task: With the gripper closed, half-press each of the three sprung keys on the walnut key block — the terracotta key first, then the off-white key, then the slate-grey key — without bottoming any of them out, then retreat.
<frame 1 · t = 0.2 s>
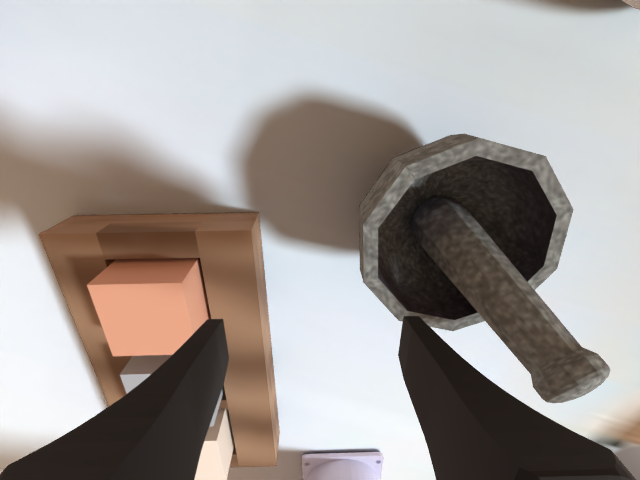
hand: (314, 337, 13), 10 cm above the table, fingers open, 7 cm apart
mortar and pestle: (423, 208, 22), on the table
slate key: (179, 380, 23), point 4 cm above the table, slide at 0.0 cm
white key: (195, 440, 25), point 4 cm above the table, slide at 0.0 cm
terracotta key: (158, 303, 20), point 4 cm above the table, slide at 0.0 cm
key block: (195, 343, 26), on the table
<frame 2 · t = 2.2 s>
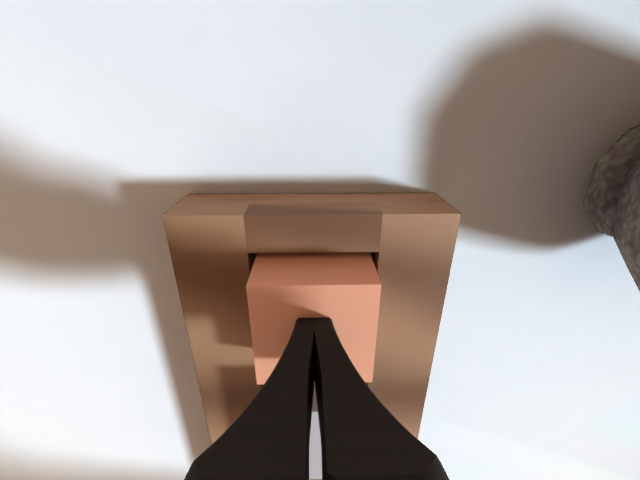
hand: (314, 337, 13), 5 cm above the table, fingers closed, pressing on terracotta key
slate key: (314, 414, 17), point 4 cm above the table, slide at 0.0 cm
terracotta key: (314, 311, 15), point 3 cm above the table, slide at 0.2 cm, touching gripper
key block: (314, 363, 20), on the table
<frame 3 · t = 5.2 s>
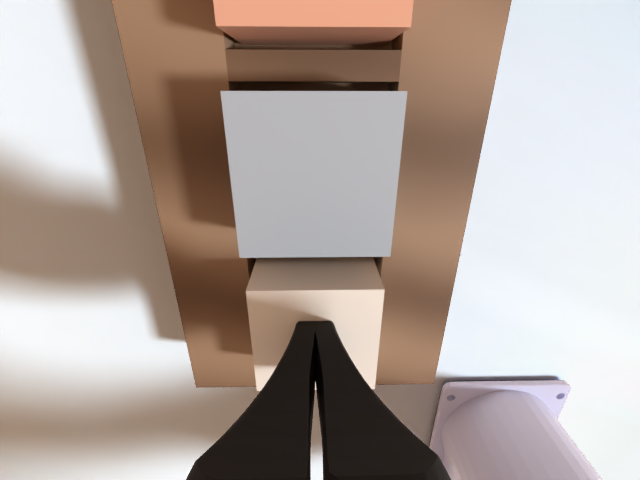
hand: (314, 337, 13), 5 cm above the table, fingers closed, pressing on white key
slate key: (314, 170, 11), point 4 cm above the table, slide at 0.0 cm
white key: (315, 316, 14), point 3 cm above the table, slide at 0.3 cm, touching gripper, key block
key block: (314, 153, 14), on the table
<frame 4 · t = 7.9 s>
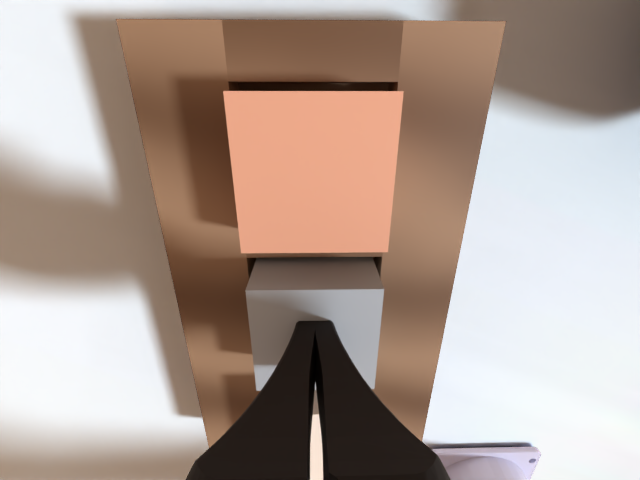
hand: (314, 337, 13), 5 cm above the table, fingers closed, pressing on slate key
slate key: (315, 315, 14), point 3 cm above the table, slide at 0.3 cm, touching gripper, key block
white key: (315, 417, 17), point 3 cm above the table, slide at 0.3 cm, touching key block
terracotta key: (314, 168, 12), point 3 cm above the table, slide at 0.3 cm, touching key block
key block: (314, 277, 17), on the table
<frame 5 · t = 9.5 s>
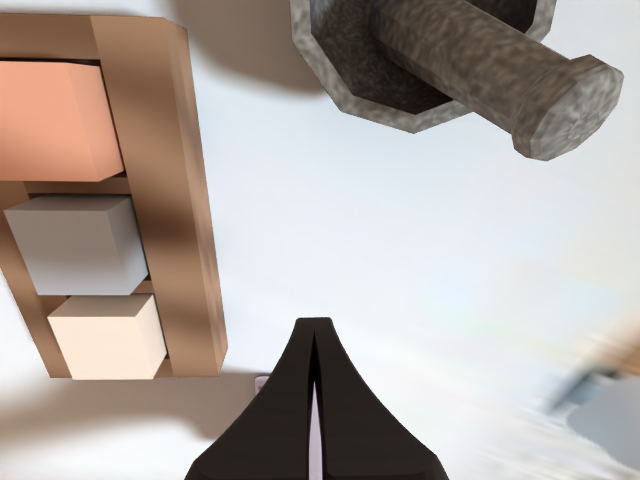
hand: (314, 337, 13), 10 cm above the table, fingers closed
mortar and pestle: (390, 35, 18), on the table
slate key: (90, 241, 19), point 3 cm above the table, slide at 0.3 cm, touching key block
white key: (118, 330, 21), point 3 cm above the table, slide at 0.3 cm, touching key block
terracotta key: (54, 122, 16), point 3 cm above the table, slide at 0.3 cm, touching key block
key block: (121, 221, 22), on the table
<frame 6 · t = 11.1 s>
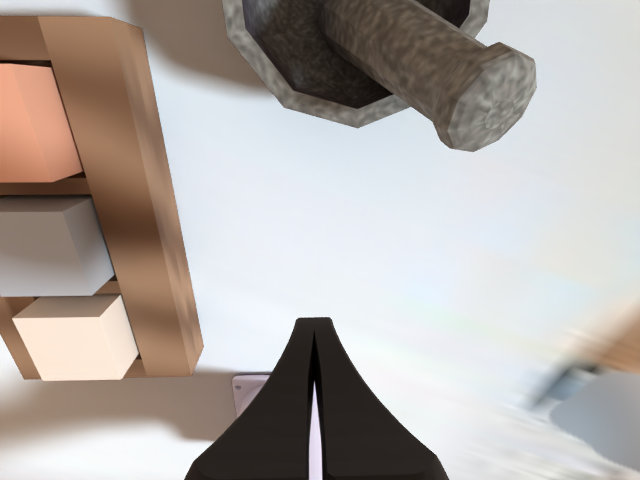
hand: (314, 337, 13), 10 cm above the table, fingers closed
mortar and pestle: (347, 30, 18), on the table
slate key: (53, 242, 19), point 3 cm above the table, slide at 0.3 cm, touching key block
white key: (87, 331, 21), point 3 cm above the table, slide at 0.3 cm, touching key block
terracotta key: (8, 123, 16), point 3 cm above the table, slide at 0.3 cm, touching key block
key block: (89, 222, 22), on the table
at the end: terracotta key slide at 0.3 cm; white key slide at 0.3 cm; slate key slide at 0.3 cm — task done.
